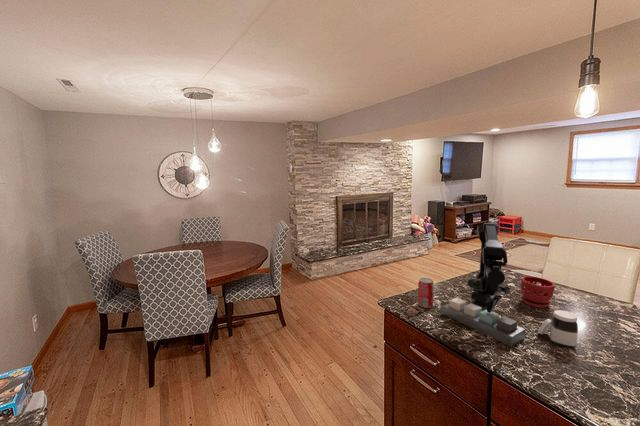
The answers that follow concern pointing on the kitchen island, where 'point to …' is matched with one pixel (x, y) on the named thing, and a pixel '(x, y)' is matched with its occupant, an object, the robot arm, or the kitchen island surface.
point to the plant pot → (536, 291)
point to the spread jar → (562, 329)
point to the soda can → (425, 292)
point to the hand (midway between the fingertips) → (489, 312)
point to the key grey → (472, 310)
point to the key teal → (488, 317)
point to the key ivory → (457, 304)
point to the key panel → (484, 326)
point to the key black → (507, 324)
